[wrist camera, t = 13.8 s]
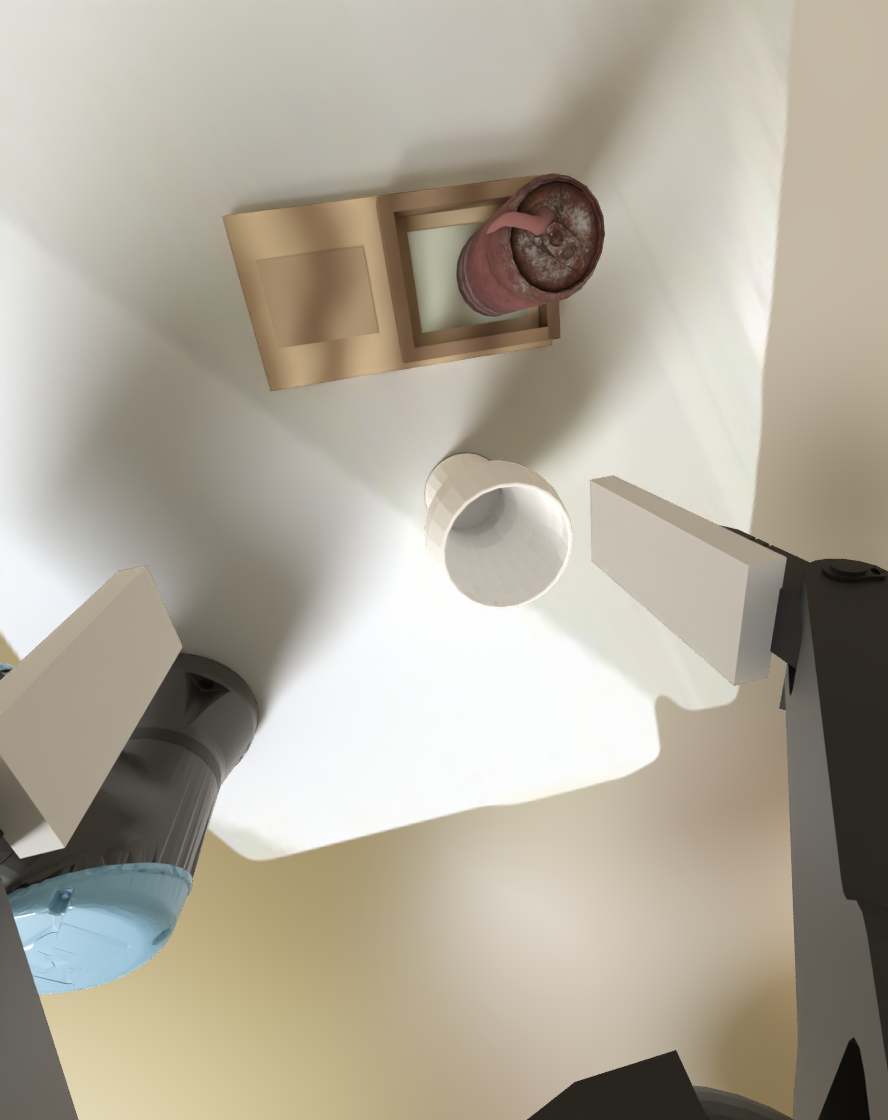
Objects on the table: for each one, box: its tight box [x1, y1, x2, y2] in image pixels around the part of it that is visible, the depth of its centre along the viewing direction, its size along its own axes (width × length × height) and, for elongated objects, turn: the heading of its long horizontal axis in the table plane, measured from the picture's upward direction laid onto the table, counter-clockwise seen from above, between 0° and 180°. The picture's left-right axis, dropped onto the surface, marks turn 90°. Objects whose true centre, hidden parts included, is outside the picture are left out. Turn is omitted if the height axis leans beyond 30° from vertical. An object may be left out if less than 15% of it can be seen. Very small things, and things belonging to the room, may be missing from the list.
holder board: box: [222, 175, 560, 391], centre depth 38 cm, size 24×12×4 cm, turn 98°
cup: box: [424, 453, 573, 609], centre depth 41 cm, size 11×11×15 cm
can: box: [456, 174, 605, 317], centre depth 33 cm, size 6×6×14 cm
